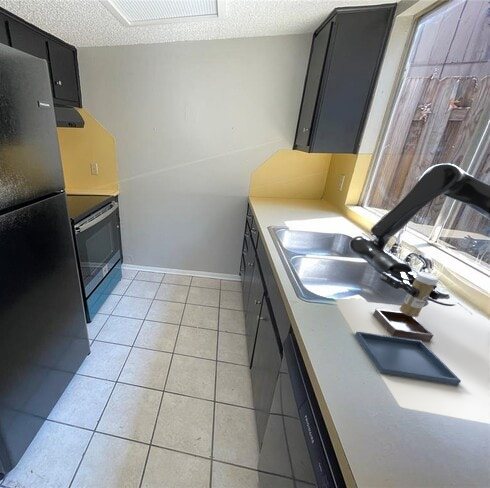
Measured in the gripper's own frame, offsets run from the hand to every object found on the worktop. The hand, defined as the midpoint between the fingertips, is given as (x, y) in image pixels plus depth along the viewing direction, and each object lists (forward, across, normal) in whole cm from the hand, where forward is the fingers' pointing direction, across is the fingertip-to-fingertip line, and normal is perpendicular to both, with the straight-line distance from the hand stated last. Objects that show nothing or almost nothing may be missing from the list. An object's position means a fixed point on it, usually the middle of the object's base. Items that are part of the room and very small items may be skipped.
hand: (427, 295), depth 73 cm
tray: (+11, -8, +14) cm, 20 cm away
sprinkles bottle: (-3, 0, +8) cm, 9 cm away
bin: (-3, 0, +14) cm, 15 cm away
